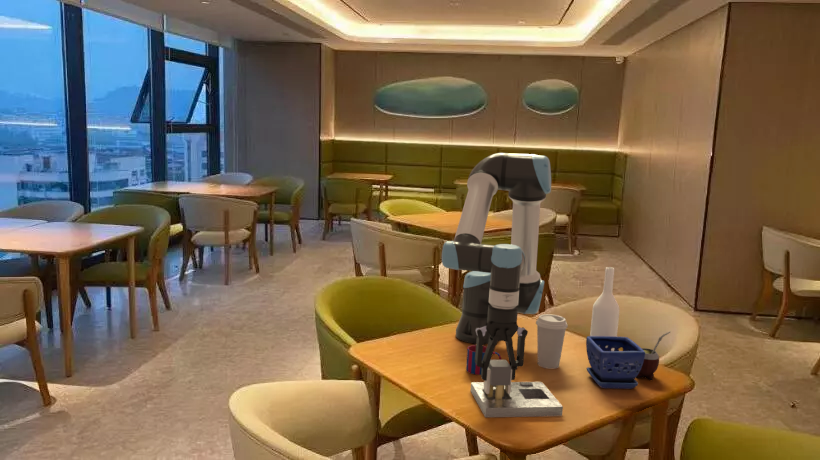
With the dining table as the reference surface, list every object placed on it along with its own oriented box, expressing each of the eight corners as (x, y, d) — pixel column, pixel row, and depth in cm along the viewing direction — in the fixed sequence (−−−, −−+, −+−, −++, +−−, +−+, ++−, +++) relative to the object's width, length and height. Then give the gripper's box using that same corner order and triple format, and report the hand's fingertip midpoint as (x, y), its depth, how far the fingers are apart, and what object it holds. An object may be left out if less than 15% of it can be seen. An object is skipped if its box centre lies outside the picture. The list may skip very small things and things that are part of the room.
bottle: (599, 365, 199) (608, 271, 194) (582, 356, 206) (591, 265, 201) (619, 363, 202) (629, 270, 197) (602, 354, 209) (611, 264, 205)
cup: (469, 365, 194) (470, 343, 193) (501, 370, 191) (503, 348, 190) (463, 372, 188) (465, 350, 187) (497, 378, 185) (498, 355, 184)
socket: (470, 391, 175) (471, 381, 174) (540, 390, 178) (541, 380, 177) (485, 417, 159) (486, 406, 159) (562, 416, 162) (563, 405, 162)
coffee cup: (564, 372, 192) (568, 324, 190) (532, 368, 194) (536, 320, 191) (563, 361, 201) (567, 315, 199) (532, 357, 203) (536, 312, 201)
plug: (484, 394, 170) (487, 359, 168) (503, 393, 170) (505, 359, 169) (489, 402, 165) (492, 366, 163) (508, 401, 165) (511, 366, 164)
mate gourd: (627, 373, 194) (632, 325, 191) (648, 371, 196) (653, 323, 194) (644, 382, 187) (649, 333, 184) (665, 380, 190) (671, 331, 187)
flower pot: (643, 392, 180) (647, 351, 178) (597, 391, 179) (601, 350, 177) (624, 374, 193) (627, 336, 191) (581, 373, 192) (584, 335, 190)
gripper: (472, 309, 159) (466, 398, 162) (542, 309, 161) (534, 397, 165) (465, 300, 166) (460, 386, 170) (532, 301, 169) (525, 385, 172)
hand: (497, 391), depth 167 cm, fingers closed on plug, 5 cm apart
